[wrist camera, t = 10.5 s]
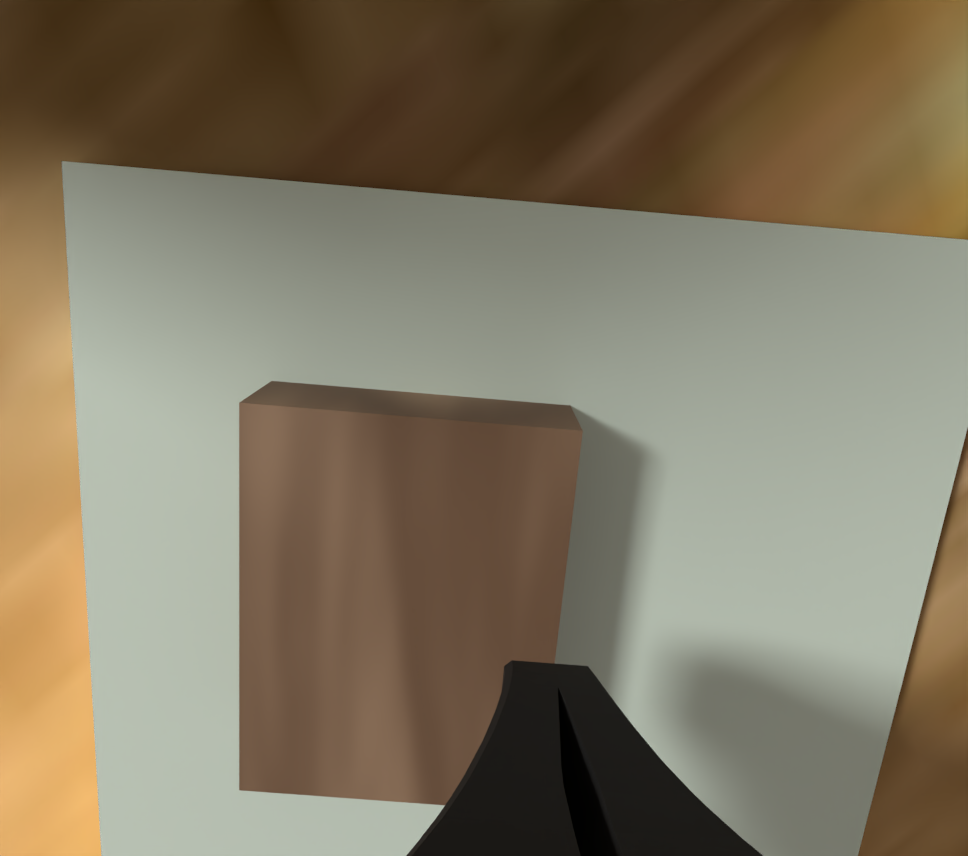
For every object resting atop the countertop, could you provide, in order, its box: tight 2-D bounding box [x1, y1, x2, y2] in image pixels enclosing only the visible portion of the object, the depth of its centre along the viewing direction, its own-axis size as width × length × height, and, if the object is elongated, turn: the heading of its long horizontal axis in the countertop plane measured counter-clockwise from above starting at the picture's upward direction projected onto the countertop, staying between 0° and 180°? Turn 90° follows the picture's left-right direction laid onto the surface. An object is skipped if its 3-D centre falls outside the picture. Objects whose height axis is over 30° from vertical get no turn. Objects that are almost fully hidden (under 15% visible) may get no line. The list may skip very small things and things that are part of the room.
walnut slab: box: [239, 381, 583, 805], centre depth 15 cm, size 2×8×6 cm
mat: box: [62, 161, 968, 856], centre depth 16 cm, size 18×18×1 cm
